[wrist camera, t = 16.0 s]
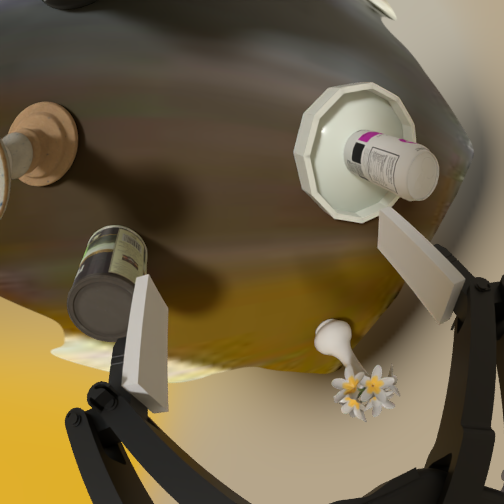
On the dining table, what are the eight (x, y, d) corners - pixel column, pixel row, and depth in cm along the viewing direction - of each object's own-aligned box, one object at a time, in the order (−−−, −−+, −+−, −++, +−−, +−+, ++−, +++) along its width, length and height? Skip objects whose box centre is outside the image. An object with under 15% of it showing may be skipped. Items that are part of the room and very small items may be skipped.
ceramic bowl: (315, 63, 37) (327, 61, 34) (415, 112, 45) (427, 115, 42) (279, 204, 47) (288, 212, 44) (382, 221, 55) (393, 228, 52)
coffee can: (84, 275, 42) (67, 335, 30) (90, 218, 38) (67, 267, 27) (141, 287, 46) (141, 348, 35) (154, 232, 43) (155, 285, 31)
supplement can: (358, 119, 42) (425, 134, 30) (384, 148, 46) (447, 171, 34) (332, 156, 44) (395, 183, 32) (361, 182, 48) (421, 215, 36)
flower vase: (310, 299, 59) (376, 390, 39) (362, 314, 68) (422, 384, 47) (279, 344, 63) (328, 435, 43) (333, 351, 72) (381, 423, 51)
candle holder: (-2, 161, 28) (-82, 210, 12) (34, 87, 26) (-49, 87, 9) (54, 199, 35) (-5, 271, 18) (95, 126, 32) (39, 147, 16)
